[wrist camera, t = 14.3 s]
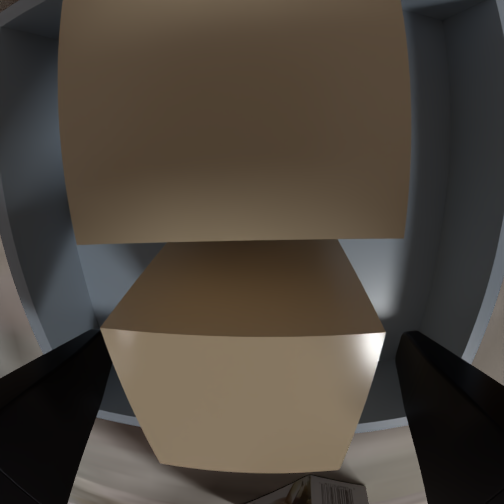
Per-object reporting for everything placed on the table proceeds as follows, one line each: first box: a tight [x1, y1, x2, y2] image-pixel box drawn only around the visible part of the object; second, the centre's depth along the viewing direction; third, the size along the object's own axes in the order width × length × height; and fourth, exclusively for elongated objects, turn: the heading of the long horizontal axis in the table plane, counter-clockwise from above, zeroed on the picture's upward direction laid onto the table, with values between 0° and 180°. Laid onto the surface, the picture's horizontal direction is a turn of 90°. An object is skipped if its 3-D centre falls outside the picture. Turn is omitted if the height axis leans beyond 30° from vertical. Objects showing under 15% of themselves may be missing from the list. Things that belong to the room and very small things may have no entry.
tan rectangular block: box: [58, 0, 411, 245], centre depth 5 cm, size 4×4×6 cm
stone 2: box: [100, 239, 386, 473], centre depth 8 cm, size 4×4×6 cm
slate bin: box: [0, 0, 504, 433], centre depth 8 cm, size 14×14×4 cm
